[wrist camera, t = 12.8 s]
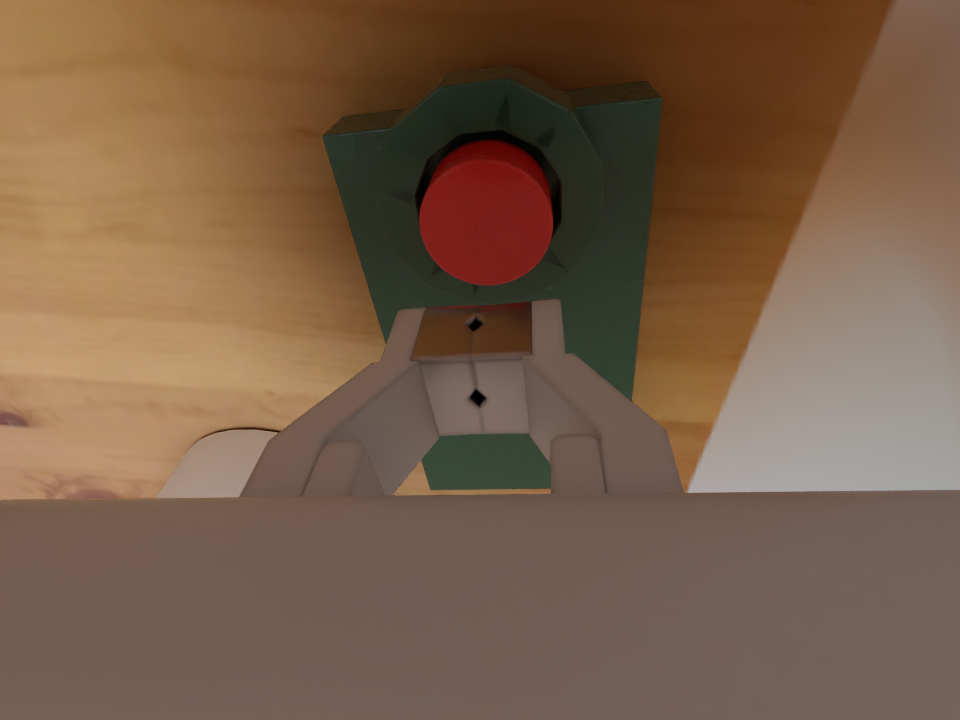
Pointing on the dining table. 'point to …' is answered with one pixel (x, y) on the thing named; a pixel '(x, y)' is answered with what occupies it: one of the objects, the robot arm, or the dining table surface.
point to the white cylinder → (217, 465)
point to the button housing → (575, 238)
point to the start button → (487, 213)
